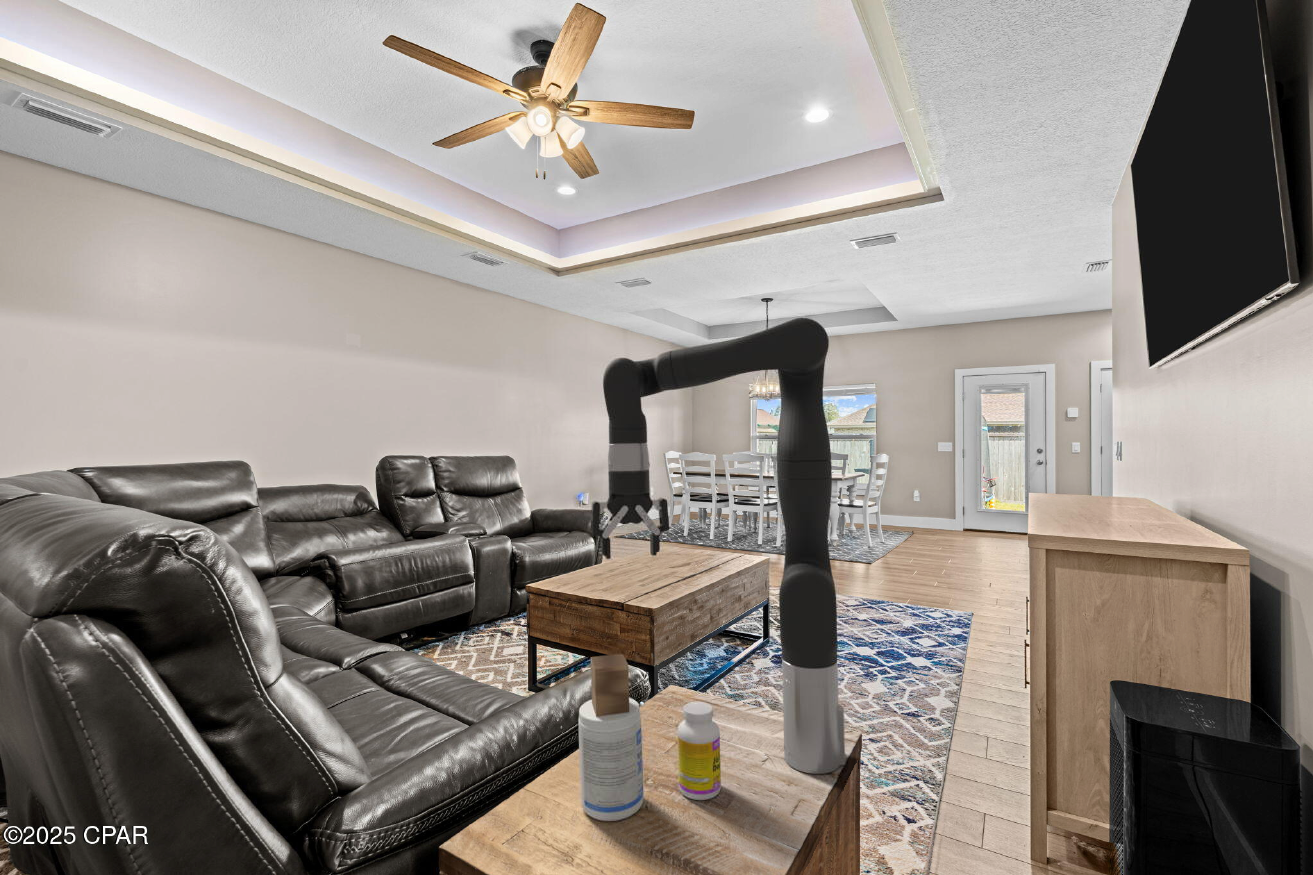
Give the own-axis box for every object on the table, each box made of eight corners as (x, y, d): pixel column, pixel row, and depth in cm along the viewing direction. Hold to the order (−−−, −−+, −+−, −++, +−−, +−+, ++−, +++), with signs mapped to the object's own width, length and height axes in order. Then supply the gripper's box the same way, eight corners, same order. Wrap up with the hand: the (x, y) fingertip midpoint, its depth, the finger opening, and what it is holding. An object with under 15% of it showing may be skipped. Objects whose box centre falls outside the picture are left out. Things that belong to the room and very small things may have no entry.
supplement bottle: (719, 804, 90) (716, 718, 90) (675, 800, 91) (673, 715, 91) (723, 779, 96) (721, 700, 96) (682, 775, 98) (680, 697, 98)
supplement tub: (654, 811, 88) (652, 712, 89) (595, 832, 84) (593, 728, 84) (626, 779, 97) (624, 689, 97) (571, 797, 92) (569, 702, 93)
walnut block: (623, 698, 94) (622, 653, 94) (629, 712, 89) (628, 665, 89) (591, 702, 92) (590, 657, 93) (595, 716, 88) (594, 669, 88)
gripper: (661, 466, 114) (663, 550, 114) (587, 468, 111) (589, 555, 111) (671, 467, 107) (673, 557, 107) (592, 470, 104) (594, 563, 104)
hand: (630, 556), depth 109 cm, fingers open, 8 cm apart
